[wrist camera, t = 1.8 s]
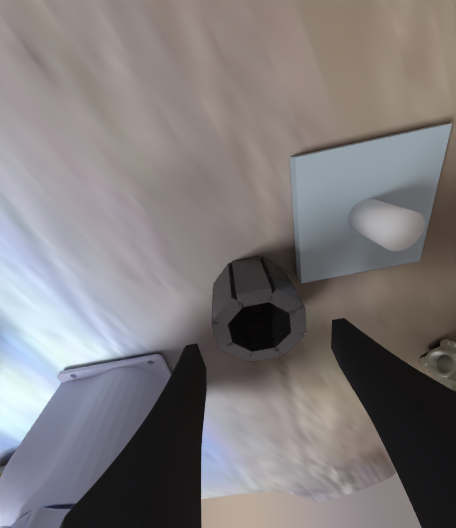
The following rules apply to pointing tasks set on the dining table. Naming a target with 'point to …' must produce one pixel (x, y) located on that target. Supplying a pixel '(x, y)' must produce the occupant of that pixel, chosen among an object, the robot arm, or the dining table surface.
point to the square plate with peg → (365, 202)
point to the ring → (256, 310)
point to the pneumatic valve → (442, 363)
